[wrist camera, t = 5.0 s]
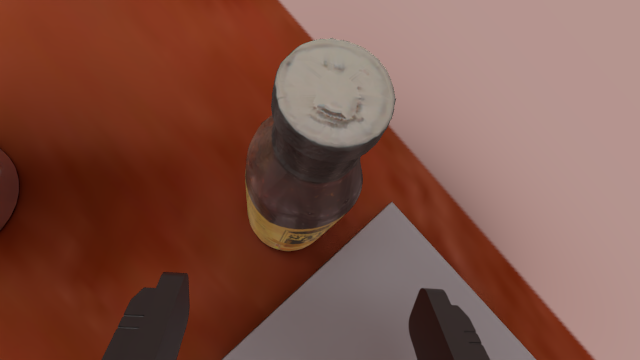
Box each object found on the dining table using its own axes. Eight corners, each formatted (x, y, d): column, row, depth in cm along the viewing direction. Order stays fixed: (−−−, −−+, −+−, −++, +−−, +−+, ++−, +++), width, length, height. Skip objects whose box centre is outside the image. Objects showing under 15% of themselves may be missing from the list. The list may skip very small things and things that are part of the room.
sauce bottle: (286, 269, 29) (325, 246, 10) (232, 212, 30) (176, 93, 11) (343, 212, 31) (463, 105, 12) (291, 160, 32) (330, -20, 13)
